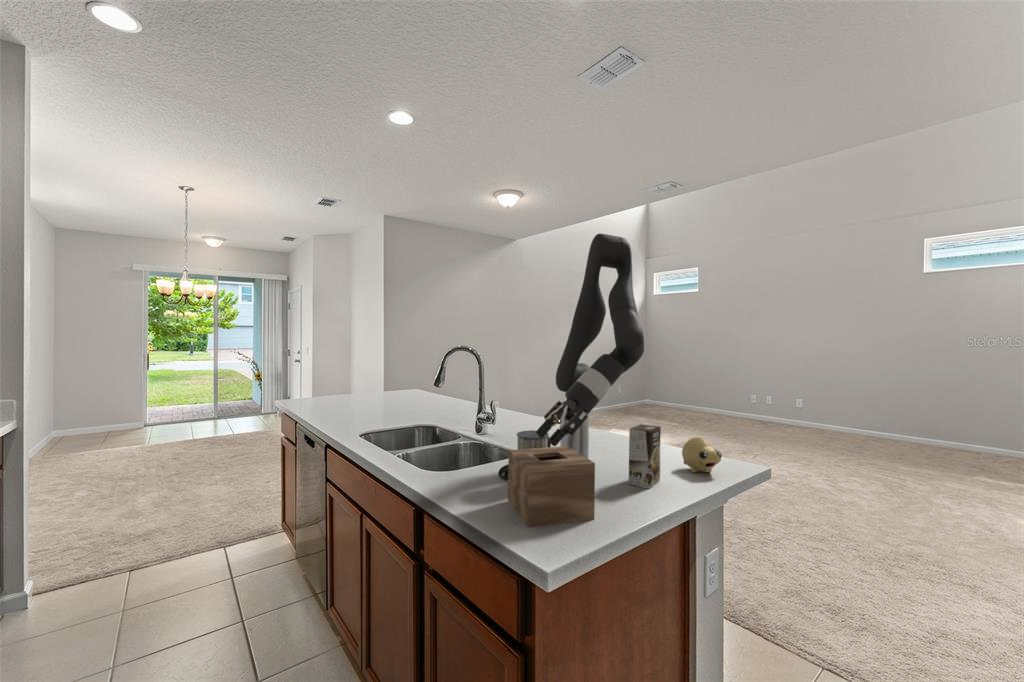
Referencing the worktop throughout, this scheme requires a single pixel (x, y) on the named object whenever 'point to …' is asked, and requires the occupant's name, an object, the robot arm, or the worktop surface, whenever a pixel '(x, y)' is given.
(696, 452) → the yellow creature figurine
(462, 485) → the worktop surface
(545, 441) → the milk frother
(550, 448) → the coin box
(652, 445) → the coffee box
